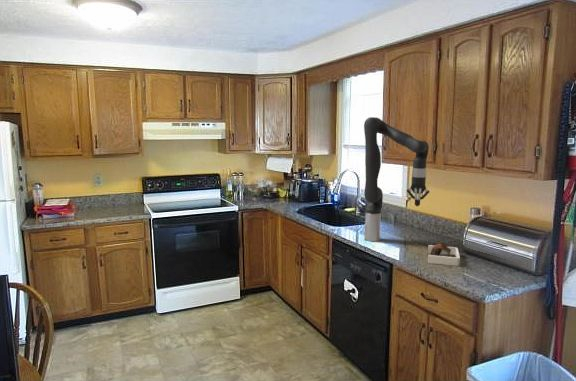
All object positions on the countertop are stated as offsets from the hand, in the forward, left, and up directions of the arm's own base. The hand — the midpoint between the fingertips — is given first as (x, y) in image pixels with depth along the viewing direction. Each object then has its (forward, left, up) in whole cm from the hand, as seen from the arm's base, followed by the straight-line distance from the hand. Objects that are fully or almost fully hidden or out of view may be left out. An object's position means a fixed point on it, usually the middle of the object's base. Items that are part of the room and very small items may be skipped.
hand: (417, 206), depth 230 cm
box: (+14, -17, -25) cm, 33 cm away
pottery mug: (+13, -14, -25) cm, 31 cm away
